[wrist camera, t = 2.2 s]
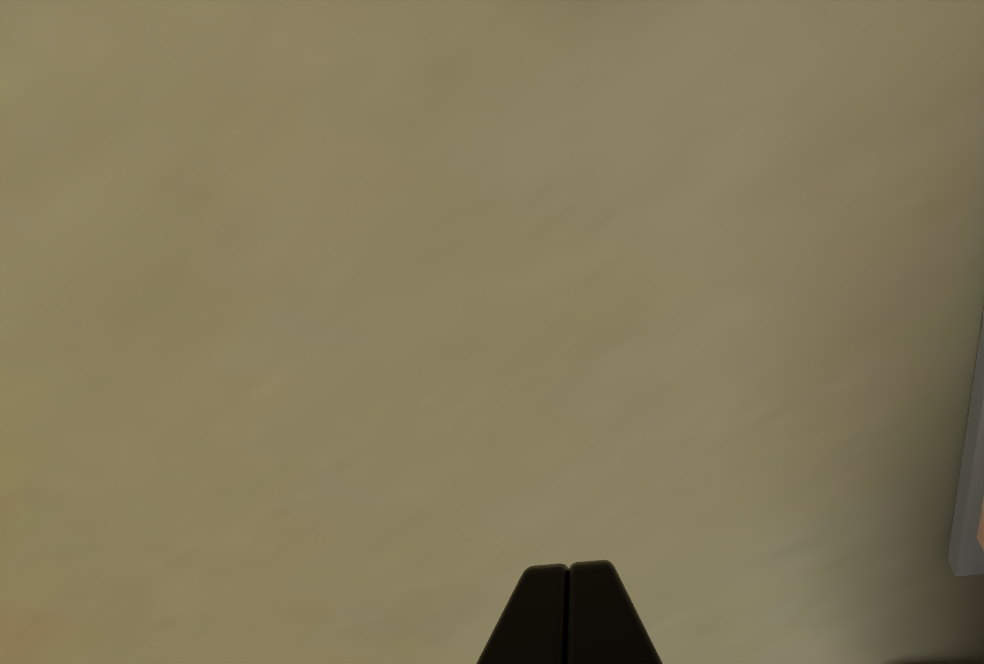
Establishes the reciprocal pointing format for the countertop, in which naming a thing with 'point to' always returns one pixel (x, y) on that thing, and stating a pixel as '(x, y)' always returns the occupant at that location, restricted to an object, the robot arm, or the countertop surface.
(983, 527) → the tile
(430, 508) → the countertop surface
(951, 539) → the mat
